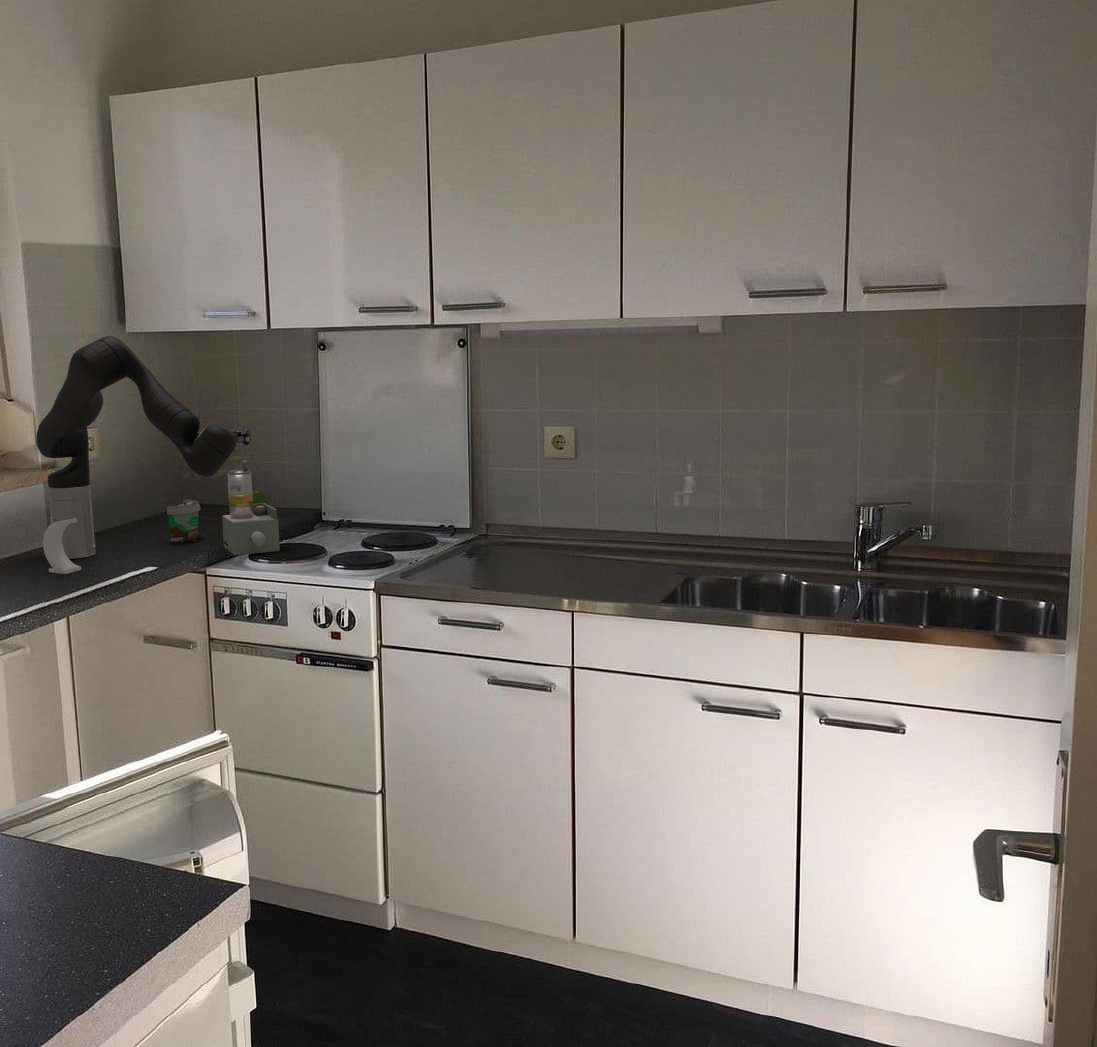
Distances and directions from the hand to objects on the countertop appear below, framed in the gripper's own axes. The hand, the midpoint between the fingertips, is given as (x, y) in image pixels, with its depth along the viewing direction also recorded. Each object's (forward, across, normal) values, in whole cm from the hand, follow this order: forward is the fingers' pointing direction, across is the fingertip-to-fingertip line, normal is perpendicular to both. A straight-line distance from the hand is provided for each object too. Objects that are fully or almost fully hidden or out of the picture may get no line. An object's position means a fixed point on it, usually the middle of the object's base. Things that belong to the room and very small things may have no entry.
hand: (219, 435), depth 245 cm
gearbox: (+13, -6, +30) cm, 33 cm away
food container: (+30, +11, +30) cm, 44 cm away
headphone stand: (0, +36, +30) cm, 47 cm away
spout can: (+14, -3, +22) cm, 26 cm away
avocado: (+35, -7, +30) cm, 47 cm away
